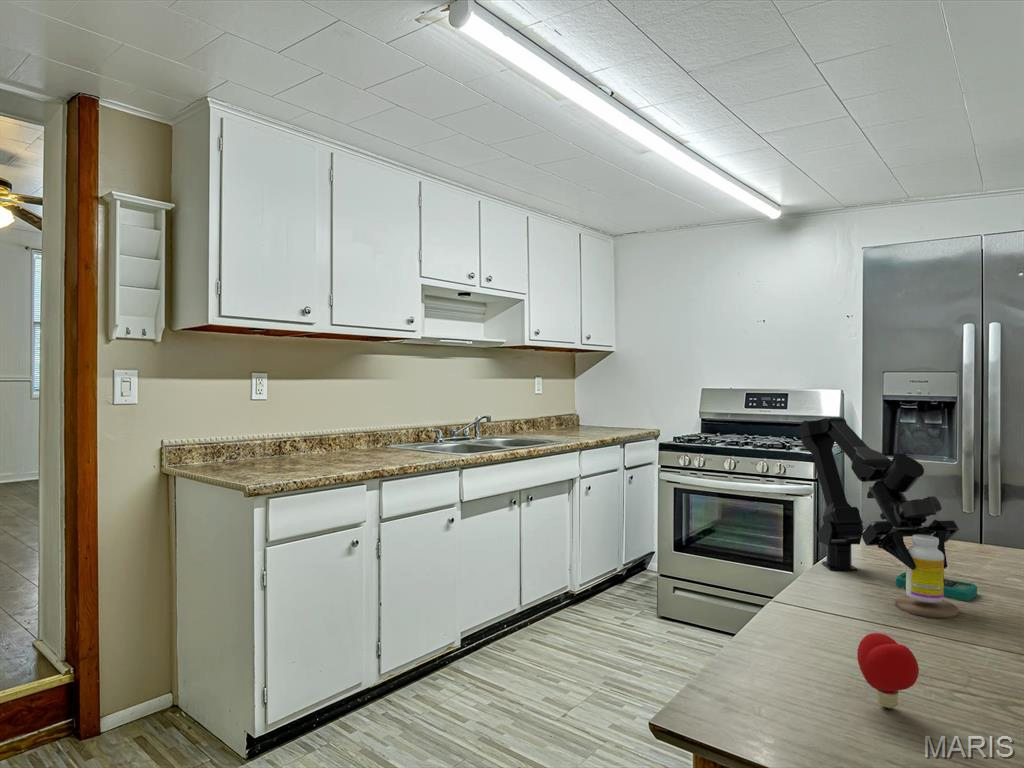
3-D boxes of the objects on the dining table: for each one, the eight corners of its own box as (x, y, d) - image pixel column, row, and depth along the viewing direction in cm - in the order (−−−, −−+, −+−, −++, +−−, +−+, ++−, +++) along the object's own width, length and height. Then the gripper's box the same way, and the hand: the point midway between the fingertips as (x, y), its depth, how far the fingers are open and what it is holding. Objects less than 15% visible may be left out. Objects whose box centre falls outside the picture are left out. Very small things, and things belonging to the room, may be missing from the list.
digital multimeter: (904, 581, 155) (904, 569, 155) (978, 596, 144) (978, 583, 144) (892, 588, 150) (892, 575, 150) (969, 604, 139) (968, 590, 139)
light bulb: (845, 694, 99) (844, 628, 99) (889, 692, 99) (888, 626, 99) (885, 726, 89) (885, 653, 89) (933, 723, 90) (933, 651, 90)
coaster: (885, 599, 141) (885, 594, 141) (939, 600, 140) (939, 596, 140) (911, 617, 130) (911, 612, 130) (969, 619, 129) (969, 614, 129)
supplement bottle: (950, 604, 132) (951, 541, 131) (915, 603, 132) (916, 540, 132) (932, 594, 138) (933, 533, 138) (899, 592, 139) (900, 532, 139)
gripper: (870, 483, 138) (906, 549, 127) (952, 482, 140) (995, 546, 129) (848, 513, 146) (880, 577, 135) (926, 511, 148) (963, 574, 137)
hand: (929, 568), depth 134 cm, fingers closed on supplement bottle, 6 cm apart
